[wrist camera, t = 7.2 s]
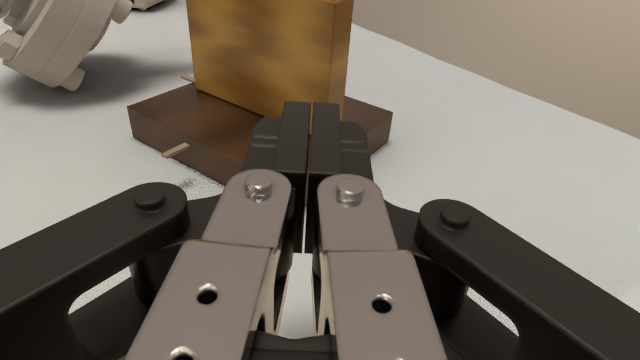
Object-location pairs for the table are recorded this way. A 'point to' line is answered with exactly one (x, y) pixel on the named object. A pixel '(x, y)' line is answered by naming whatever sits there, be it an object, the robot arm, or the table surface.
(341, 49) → the tan wooden flat block
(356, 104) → the panel
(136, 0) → the radio
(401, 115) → the table surface
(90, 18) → the valve
